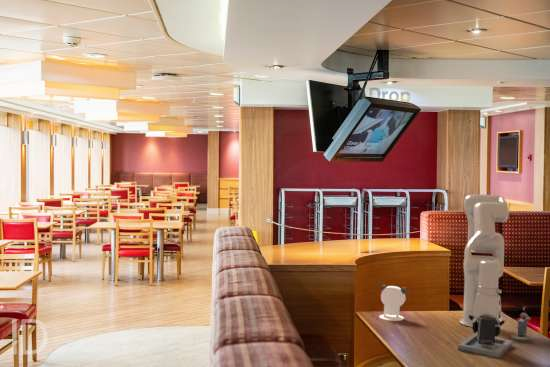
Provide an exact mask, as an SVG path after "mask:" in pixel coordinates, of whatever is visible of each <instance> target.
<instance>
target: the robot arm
mask: <svg viewBox="0 0 550 367" xmlns="http://www.w3.org/2000/svg"><path fill="white" fill-rule="evenodd" d="M463 209H464V212H465V216H466V218H467V243H466V245H465V247H464V253H463V254H464V256H463V258H464V259H463V263H462V264H463V266H462V267H463V275H464V277H463V278H464V285H463V286H464V287H463V290H464V291H463V310H462V312H463V313H462V318H460V319H459V322H458V323H459V324H461V325H462V326H465V327H470V328H472V329H471V330H472V331H473V334H477V329H478V318H479V316H483V317H489V318H493V319H496V329H495V338H498V336H499V335H500V334H501V327H502V326H503V325H504V324H505V323H506V322H507V321H508V319H509V316H508V315H507V314H505V312H503V311H502V303H501V302H502V300H501V295H500V294H502V292H503V291H502V289H499V280H500V279H499V278H501V277H502V276H503V274H504V269H505V268H504V267H505V264H504V263H505V239H504V236H503V235H502V234H501V233H499V232H496V226H495V225H496V224H495V223H506V222H507V221H508V220H509V215H510V211H509V206H508V204H507V201H506V199H505V197H504V196H502V195H497V194H495V195H494V194H474V193H473V194H468V195H466V196H465V197H464V200H463ZM472 253H477V254H492V255H493V256H490V255H475V254H474V255H472ZM501 317H502V318H503V319H502V320H500V319H501Z"/></svg>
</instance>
